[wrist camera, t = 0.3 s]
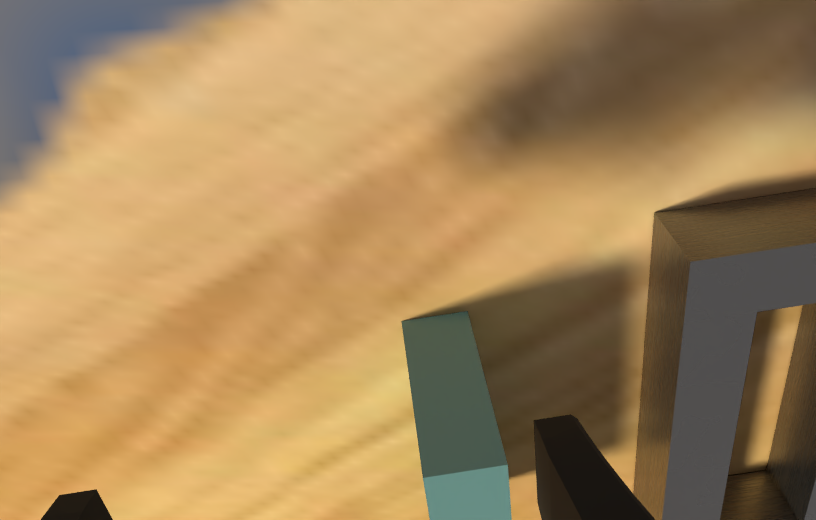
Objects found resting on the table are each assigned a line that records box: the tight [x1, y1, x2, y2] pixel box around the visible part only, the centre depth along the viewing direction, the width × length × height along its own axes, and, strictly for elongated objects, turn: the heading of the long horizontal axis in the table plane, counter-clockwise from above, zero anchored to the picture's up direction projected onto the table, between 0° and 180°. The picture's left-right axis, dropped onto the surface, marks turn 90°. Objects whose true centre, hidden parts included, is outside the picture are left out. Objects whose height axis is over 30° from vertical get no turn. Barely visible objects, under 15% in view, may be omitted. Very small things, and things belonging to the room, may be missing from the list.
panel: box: [402, 311, 511, 520], centre depth 22 cm, size 8×2×6 cm, turn 7°
